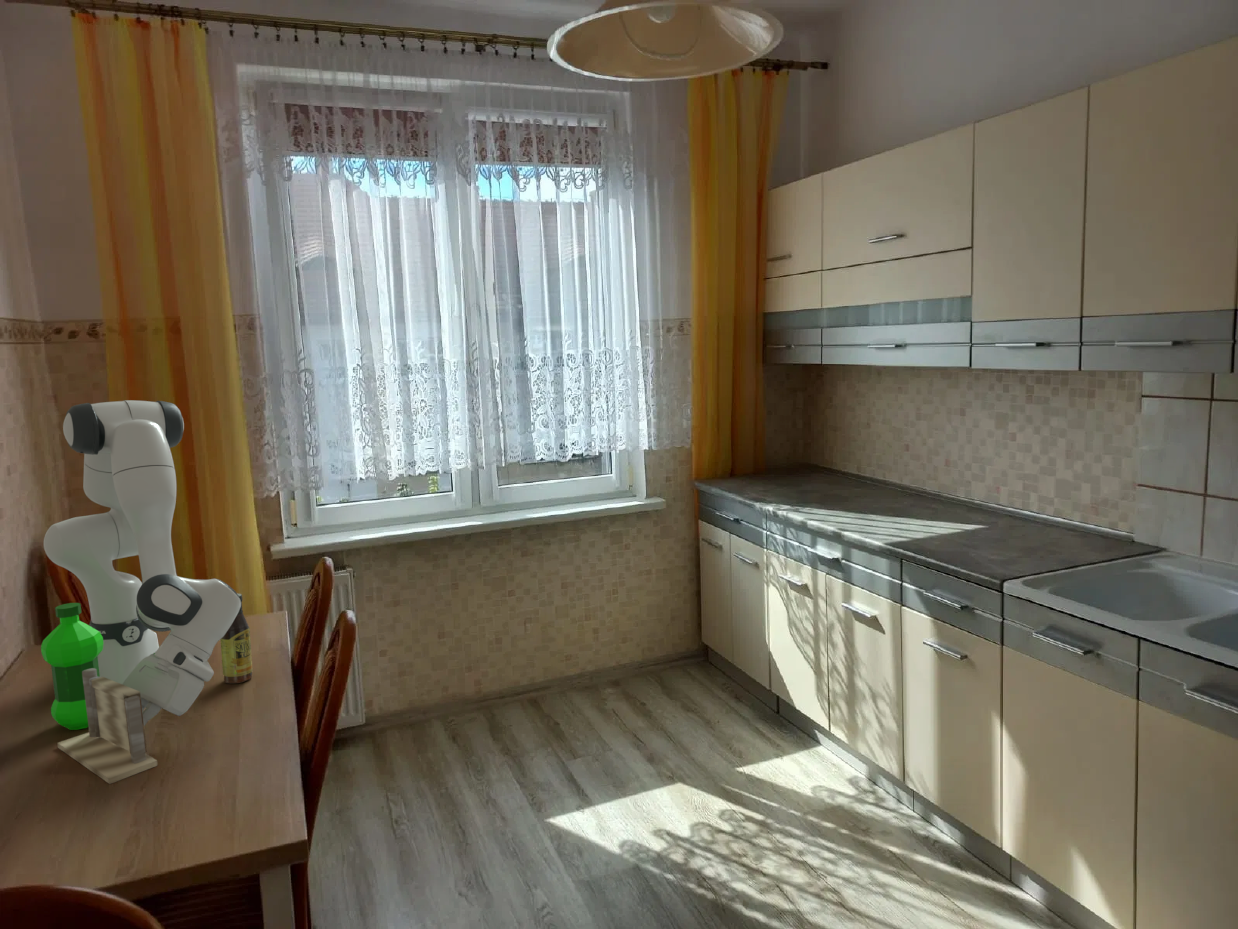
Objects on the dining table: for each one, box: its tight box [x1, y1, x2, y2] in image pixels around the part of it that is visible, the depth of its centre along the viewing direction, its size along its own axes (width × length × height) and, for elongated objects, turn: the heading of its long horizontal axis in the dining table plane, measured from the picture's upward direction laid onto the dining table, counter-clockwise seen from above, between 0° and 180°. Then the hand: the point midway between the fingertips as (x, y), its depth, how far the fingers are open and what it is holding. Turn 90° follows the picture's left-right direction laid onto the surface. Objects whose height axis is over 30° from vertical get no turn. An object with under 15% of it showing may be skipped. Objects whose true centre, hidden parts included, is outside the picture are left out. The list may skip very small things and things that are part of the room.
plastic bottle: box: [40, 602, 104, 731], centre depth 170 cm, size 10×10×25 cm
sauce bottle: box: [219, 593, 254, 684], centre depth 192 cm, size 7×6×20 cm
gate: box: [89, 676, 148, 754], centre depth 158 cm, size 16×2×12 cm, turn 55°
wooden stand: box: [57, 668, 158, 785], centre depth 156 cm, size 24×8×14 cm, turn 52°
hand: (133, 725), depth 158 cm, fingers closed
